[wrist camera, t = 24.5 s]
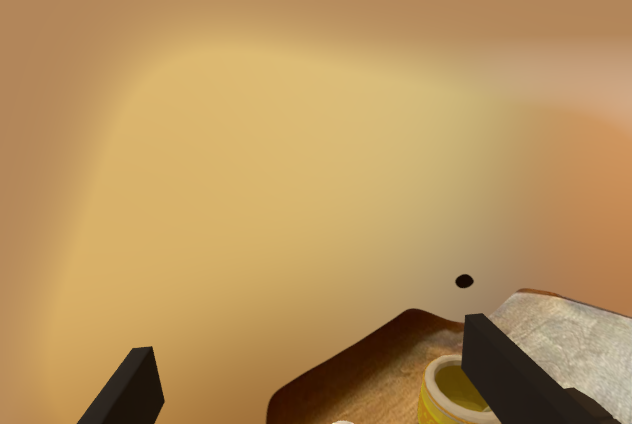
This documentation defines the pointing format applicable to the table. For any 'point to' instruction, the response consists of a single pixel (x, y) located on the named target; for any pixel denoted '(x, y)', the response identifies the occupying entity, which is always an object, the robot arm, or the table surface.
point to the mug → (451, 396)
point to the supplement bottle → (342, 422)
